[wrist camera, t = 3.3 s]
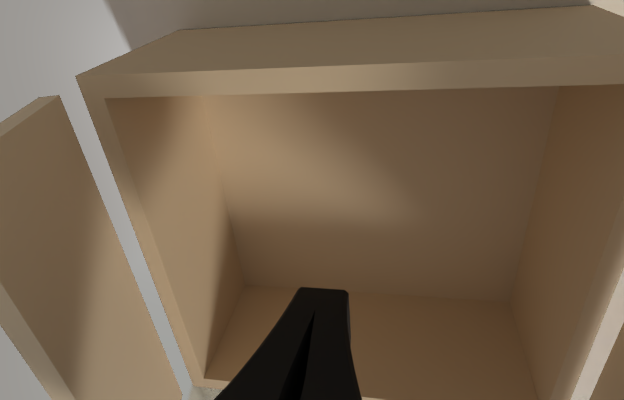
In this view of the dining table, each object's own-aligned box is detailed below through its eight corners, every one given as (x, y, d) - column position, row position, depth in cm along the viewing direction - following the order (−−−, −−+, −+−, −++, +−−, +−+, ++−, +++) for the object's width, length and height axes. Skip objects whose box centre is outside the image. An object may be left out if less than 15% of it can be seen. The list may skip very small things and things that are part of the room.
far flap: (156, 525, 13) (140, 527, 13) (182, 394, 17) (169, 395, 17) (-64, 182, 7) (-97, 186, 7) (59, 95, 10) (38, 97, 10)
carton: (519, 304, 20) (558, 429, 15) (239, 285, 23) (193, 385, 18) (592, 5, 13) (711, 51, 8) (178, 30, 16) (75, 75, 11)
